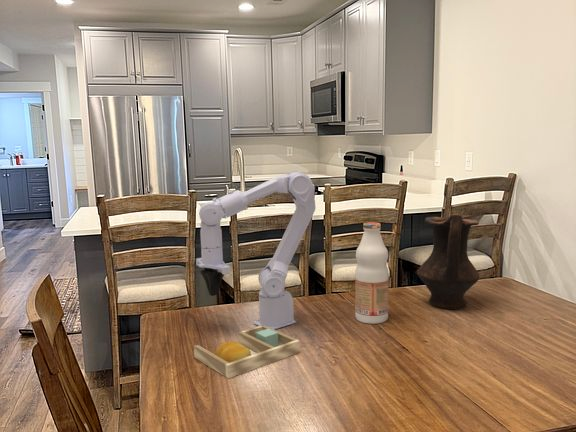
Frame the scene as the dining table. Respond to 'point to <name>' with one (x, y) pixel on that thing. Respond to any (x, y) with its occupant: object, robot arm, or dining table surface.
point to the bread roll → (232, 351)
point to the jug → (449, 262)
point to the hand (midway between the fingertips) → (213, 294)
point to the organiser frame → (262, 357)
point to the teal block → (268, 337)
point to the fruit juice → (371, 277)
